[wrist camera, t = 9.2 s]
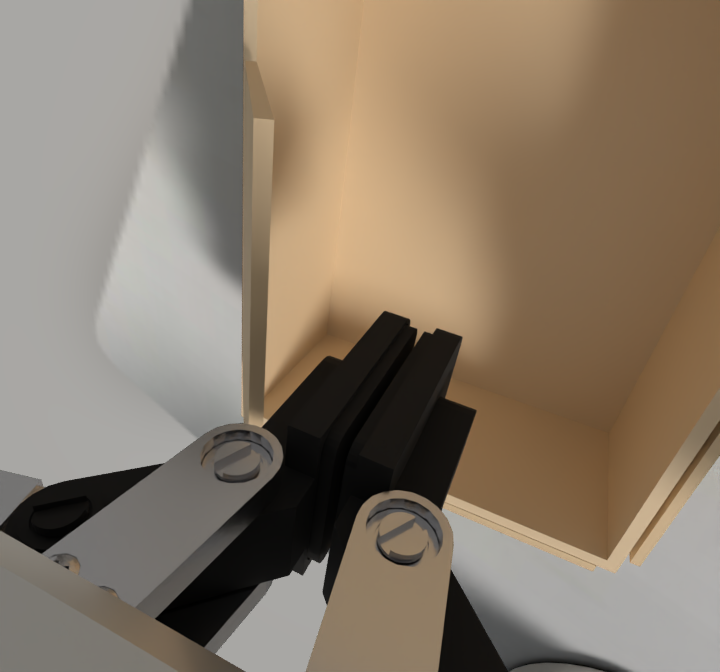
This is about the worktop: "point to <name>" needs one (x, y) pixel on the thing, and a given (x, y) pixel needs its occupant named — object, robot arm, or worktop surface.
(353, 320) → the carton
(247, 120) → the side flap
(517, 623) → the worktop surface
